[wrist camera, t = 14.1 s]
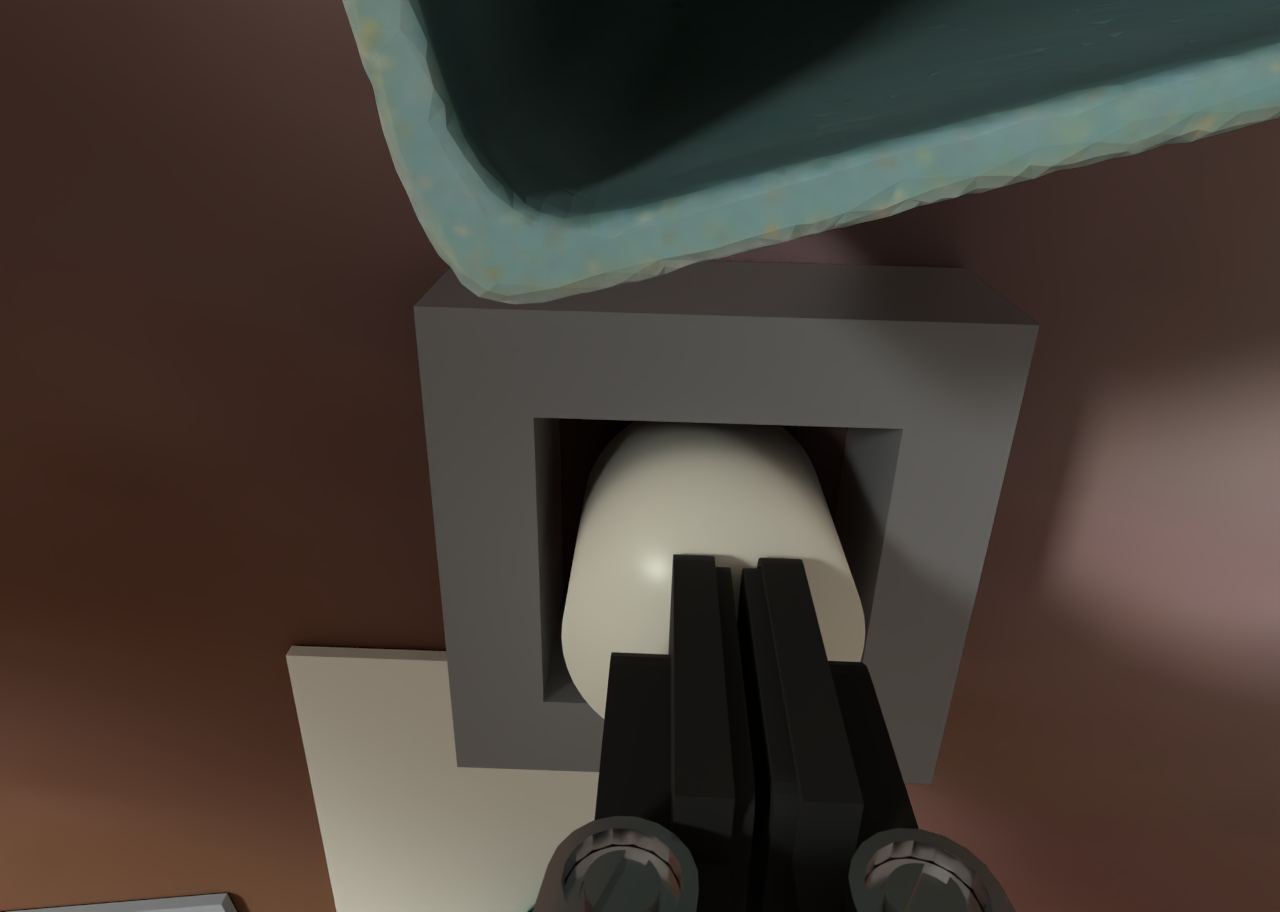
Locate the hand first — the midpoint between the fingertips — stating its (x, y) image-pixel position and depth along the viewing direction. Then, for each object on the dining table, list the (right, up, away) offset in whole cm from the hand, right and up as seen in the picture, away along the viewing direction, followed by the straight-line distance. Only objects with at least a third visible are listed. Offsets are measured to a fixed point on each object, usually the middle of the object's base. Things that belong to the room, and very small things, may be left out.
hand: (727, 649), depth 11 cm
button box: (0, +2, +4) cm, 5 cm away
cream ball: (0, +2, +3) cm, 4 cm away
